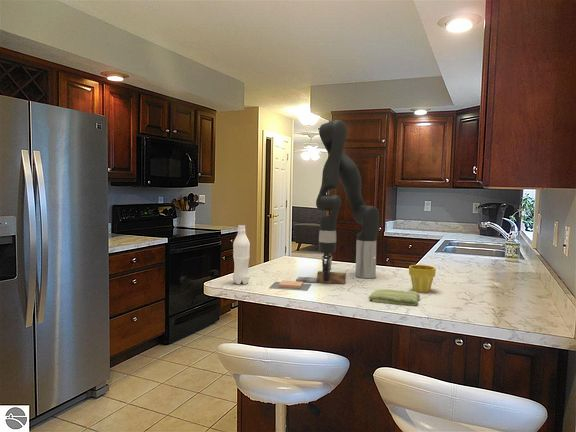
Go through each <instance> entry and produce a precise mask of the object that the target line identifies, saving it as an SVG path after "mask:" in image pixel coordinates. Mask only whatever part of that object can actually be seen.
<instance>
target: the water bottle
mask: <svg viewBox="0 0 576 432" xmlns="http://www.w3.org/2000/svg"><path fill="white" fill-rule="evenodd" d="M232 243H233V244H232V248H233V250H232V254H233V255H232V257H233V262H234V263H233V264H234V265H233V266H234V269H233V270H234V271H233V274H232V281H233V282H234V284H236V285H241V283H242V285H246V284H248V283H249V281H250V277H251V275H250V272H249V263H250V262H249V260H250V257H251V255H250V253H251V252H250V248H251V247H250V246H251V243H250V240H249V238H248V236H247V233H246V225H245V224H238V225H237V234H236V236H235V238H234V240H233V242H232Z"/></svg>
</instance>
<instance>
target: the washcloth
mask: <svg viewBox="0 0 576 432" xmlns="http://www.w3.org/2000/svg"><path fill="white" fill-rule="evenodd" d="M420 298H421V295H420V293H419V292H417V291H414V290H409V291H405V290H394V289H377V290H376V289H375V290H374V291H372V292H371V294H370V295H368V299H369V300H371V302H372V303H378V304H387V305H397V306H398V305H400V306H409V307H410V306H411V307H416V306H417V305H418V303H419V300H420Z"/></svg>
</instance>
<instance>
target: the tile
mask: <svg viewBox="0 0 576 432" xmlns="http://www.w3.org/2000/svg"><path fill="white" fill-rule="evenodd" d="M279 282H280V284H279V287H281V288H297V289H300V288H301V287H302V286H303V283H304V282H299V281H296V280H295V281H294V280H281V281H279Z"/></svg>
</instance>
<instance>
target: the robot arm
mask: <svg viewBox="0 0 576 432" xmlns="http://www.w3.org/2000/svg"><path fill="white" fill-rule="evenodd" d="M347 131H348V129H347V125H346V124H345V122H344V121H342V120H341V119H335V120H331V121H329V122H325V123H322V124H321V125H320V126H319V130H318V134H319V138H320V140H321V143H322V144H323V146H324V148H325V150H326V151H327V153H328V156H327V159H326V161H325V162H324V165H323V169H322V177H321V186H320V189H319V193H318V194H317V198H316V199H315V200H316V201H315V205H316V208H317V210H319V211H321V212H325V211H326V212H330V214H329V215H325V216H322V217H320V218H319V234H318V251H319V252H320V253H323V255H322V256H321V262H322V265H321V266H322V269H321V270H322V271H323V273H324V274H323V281H329V272H331V270H332V265H333V264H332V263H333V261H332V260H333V255H332V253H333V254H334V253H336V252H337V220H338V215H339V212H340V208H341V204H342V199H341V197H340V196H339V195H338V194H327V193H328V192H329V191H335V190H337V189H338V188H339V187H338V186H339V181H340V183H341V186H342V187H343V190H344V192H345V195H346V197H347V199H348V202H349V206H350V209H351V212H352V216H353V219H354V221H355V222H356V224H358V225H360V226H362V228H361V231H360V232H358V233H357V234H356V243H355V244H356V245H355V246H356V248H355V251H356V252H355V253H356V254H355V277H357V278H361V279H376V272H377V271H376V270H377V239H378V236H379V230H380V221H381V220H380V219H381V218H380V212H379V209H378V208H377V207H376V206H373V205H366V202H365V201H364V198H363V196H362V176H361V174H360V171H359V168H358V166H357V164H356V163H355V162H354V161H353V160H352V158H350V157H349V156H348V155H347V154H346V153H345V152H344V147H345V142H346V138H347V134H348V132H347Z"/></svg>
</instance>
